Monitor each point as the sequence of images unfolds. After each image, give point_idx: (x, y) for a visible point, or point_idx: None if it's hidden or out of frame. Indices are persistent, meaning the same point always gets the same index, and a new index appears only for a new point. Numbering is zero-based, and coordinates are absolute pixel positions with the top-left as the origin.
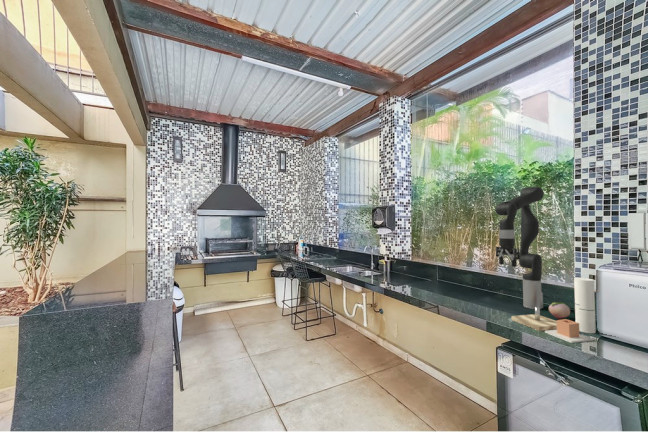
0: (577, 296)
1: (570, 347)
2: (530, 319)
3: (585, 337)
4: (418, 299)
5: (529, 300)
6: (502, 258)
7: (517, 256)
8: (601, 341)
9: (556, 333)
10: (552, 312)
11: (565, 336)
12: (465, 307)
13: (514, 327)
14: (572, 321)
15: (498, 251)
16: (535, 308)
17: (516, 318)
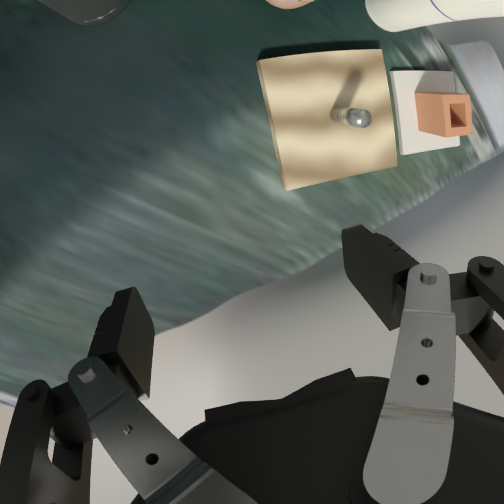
0: (477, 16)
1: (469, 169)
2: (329, 138)
3: (446, 82)
4: None
5: (109, 2)
6: (128, 365)
7: (494, 301)
8: (452, 56)
9: (422, 137)
10: (293, 8)
11: None
12: None
13: (354, 222)
14: (457, 97)
15: (72, 501)
16: (362, 127)
17: (310, 184)
